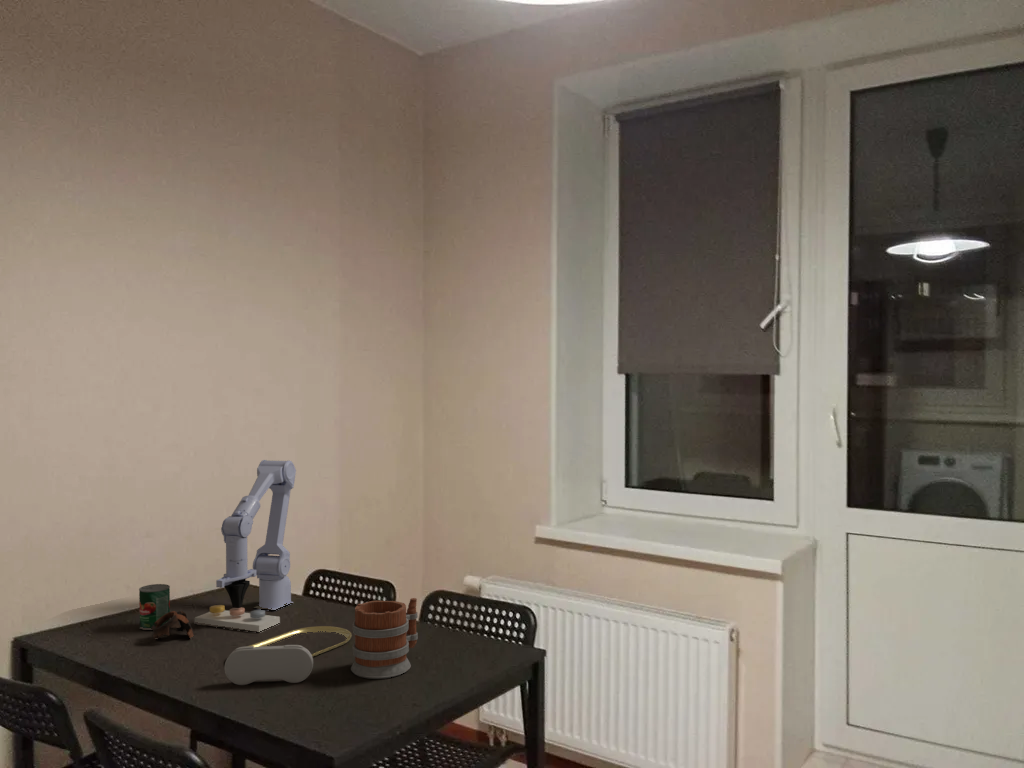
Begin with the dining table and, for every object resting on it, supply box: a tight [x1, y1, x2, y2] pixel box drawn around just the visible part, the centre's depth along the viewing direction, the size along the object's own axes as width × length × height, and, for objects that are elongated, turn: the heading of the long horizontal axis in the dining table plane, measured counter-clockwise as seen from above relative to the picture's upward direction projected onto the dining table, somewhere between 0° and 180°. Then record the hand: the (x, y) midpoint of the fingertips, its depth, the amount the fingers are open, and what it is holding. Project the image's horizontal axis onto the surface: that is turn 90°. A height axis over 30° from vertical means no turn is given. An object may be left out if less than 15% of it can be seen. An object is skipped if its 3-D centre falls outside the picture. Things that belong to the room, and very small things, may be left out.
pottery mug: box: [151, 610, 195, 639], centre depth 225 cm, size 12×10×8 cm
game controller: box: [224, 644, 314, 686], centre depth 192 cm, size 20×2×8 cm, turn 96°
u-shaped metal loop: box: [249, 625, 353, 658], centre depth 215 cm, size 19×35×2 cm, turn 149°
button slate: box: [249, 609, 266, 618], centre depth 234 cm, size 4×4×1 cm
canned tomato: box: [138, 583, 171, 628], centre depth 235 cm, size 8×8×11 cm
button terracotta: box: [229, 606, 246, 616], centre depth 237 cm, size 4×4×1 cm
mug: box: [350, 597, 419, 680], centre depth 202 cm, size 14×19×15 cm
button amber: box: [209, 604, 226, 613], centre depth 239 cm, size 4×4×1 cm
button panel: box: [194, 609, 281, 633], centre depth 237 cm, size 9×22×2 cm, turn 69°
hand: (237, 607), depth 237 cm, fingers closed
